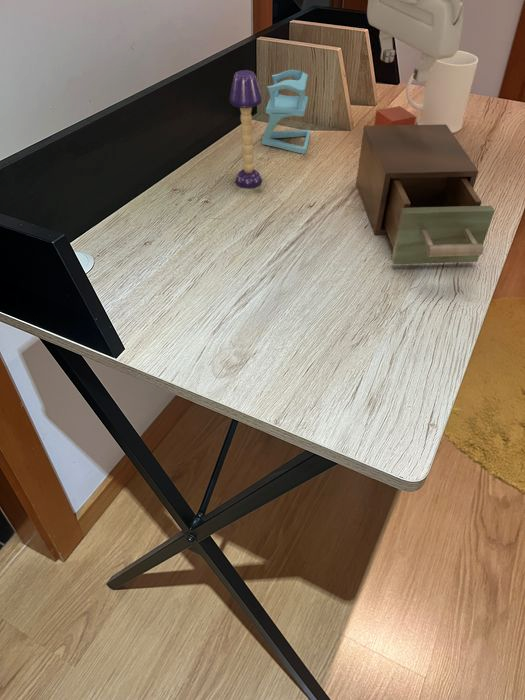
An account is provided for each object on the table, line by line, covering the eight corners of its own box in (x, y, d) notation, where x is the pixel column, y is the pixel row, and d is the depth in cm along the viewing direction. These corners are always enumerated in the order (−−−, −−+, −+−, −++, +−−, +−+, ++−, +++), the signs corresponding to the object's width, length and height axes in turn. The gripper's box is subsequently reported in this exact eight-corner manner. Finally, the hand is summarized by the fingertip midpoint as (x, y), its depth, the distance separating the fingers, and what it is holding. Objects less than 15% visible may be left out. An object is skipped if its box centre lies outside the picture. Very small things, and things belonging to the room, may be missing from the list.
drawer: (490, 284, 73) (509, 232, 67) (402, 287, 72) (414, 235, 66) (447, 208, 86) (460, 159, 80) (372, 210, 85) (380, 161, 79)
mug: (402, 132, 106) (415, 64, 97) (396, 114, 112) (408, 47, 103) (466, 134, 106) (484, 66, 97) (457, 115, 112) (473, 49, 103)
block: (372, 137, 104) (376, 110, 101) (394, 133, 106) (399, 105, 102) (387, 149, 101) (392, 121, 98) (410, 144, 103) (416, 116, 99)
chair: (265, 131, 106) (267, 62, 97) (310, 135, 105) (315, 66, 96) (259, 150, 100) (259, 79, 92) (306, 154, 99) (311, 82, 91)
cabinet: (460, 232, 83) (478, 170, 76) (374, 235, 82) (385, 173, 75) (432, 182, 93) (446, 124, 86) (355, 184, 92) (363, 125, 85)
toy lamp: (232, 188, 91) (229, 79, 79) (231, 174, 94) (228, 67, 82) (262, 188, 91) (264, 78, 79) (260, 173, 94) (261, 66, 82)
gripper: (483, -12, 80) (457, 90, 89) (399, -43, 93) (384, 49, 102) (447, -8, 78) (424, 96, 87) (366, -40, 91) (354, 53, 100)
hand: (402, 70), depth 95 cm, fingers open, 8 cm apart
